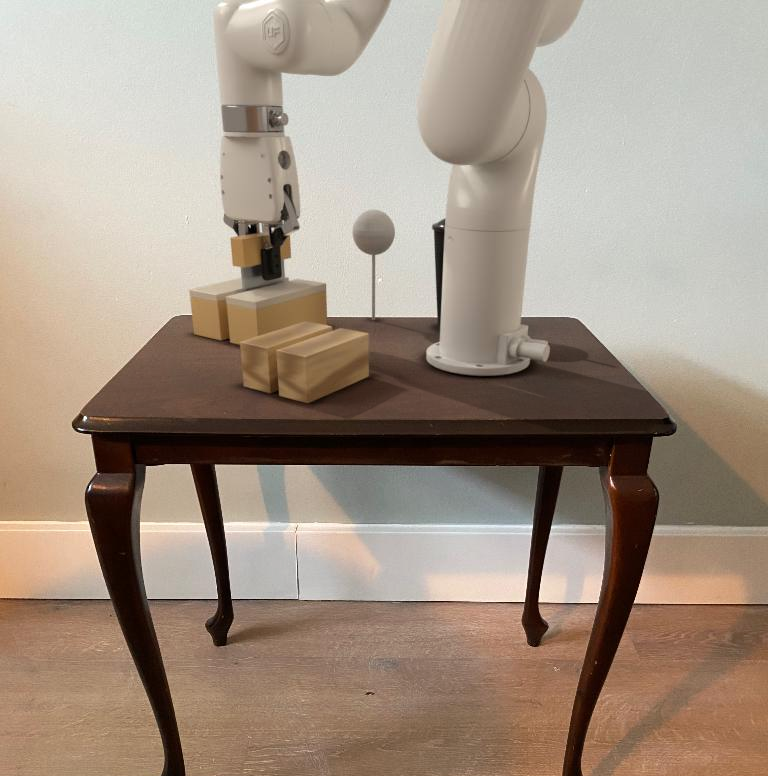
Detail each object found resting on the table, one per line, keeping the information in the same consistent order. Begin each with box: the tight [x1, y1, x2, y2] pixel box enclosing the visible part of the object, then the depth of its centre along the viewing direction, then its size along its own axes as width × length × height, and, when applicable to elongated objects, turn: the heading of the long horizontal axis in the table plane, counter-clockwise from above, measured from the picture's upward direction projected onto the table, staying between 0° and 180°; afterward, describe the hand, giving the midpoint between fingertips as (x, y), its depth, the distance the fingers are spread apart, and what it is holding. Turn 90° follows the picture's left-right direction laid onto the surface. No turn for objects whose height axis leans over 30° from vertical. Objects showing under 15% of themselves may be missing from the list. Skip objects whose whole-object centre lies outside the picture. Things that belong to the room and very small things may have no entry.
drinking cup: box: [431, 217, 446, 330], centre depth 98 cm, size 8×8×20 cm
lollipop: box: [351, 209, 396, 321], centre depth 103 cm, size 6×6×15 cm
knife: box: [229, 229, 292, 292], centre depth 99 cm, size 2×9×12 cm, turn 145°
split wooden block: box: [239, 321, 370, 404], centre depth 81 cm, size 9×11×5 cm
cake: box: [188, 276, 328, 346], centre depth 100 cm, size 12×14×6 cm
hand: (264, 276), depth 99 cm, fingers closed on knife, 2 cm apart
